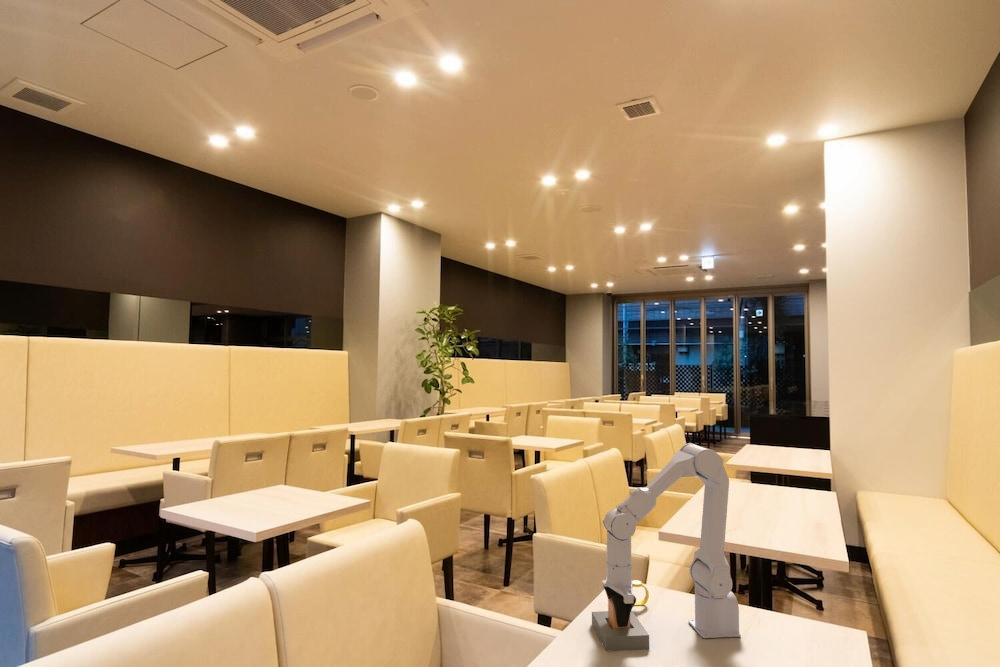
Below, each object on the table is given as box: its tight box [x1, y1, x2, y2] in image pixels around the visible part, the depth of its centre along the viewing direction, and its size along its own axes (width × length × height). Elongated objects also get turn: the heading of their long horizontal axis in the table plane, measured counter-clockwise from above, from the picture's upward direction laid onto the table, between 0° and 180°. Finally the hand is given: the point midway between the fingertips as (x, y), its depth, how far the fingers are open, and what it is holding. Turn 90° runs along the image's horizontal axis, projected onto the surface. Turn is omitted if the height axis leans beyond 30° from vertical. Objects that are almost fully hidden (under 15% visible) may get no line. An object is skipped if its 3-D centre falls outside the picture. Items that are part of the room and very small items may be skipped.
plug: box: [607, 597, 630, 629], centre depth 127 cm, size 4×4×6 cm
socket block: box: [591, 609, 650, 652], centre depth 127 cm, size 10×12×3 cm
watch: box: [632, 579, 650, 607], centre depth 144 cm, size 6×3×6 cm, turn 94°
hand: (619, 621), depth 127 cm, fingers closed on plug, 4 cm apart
